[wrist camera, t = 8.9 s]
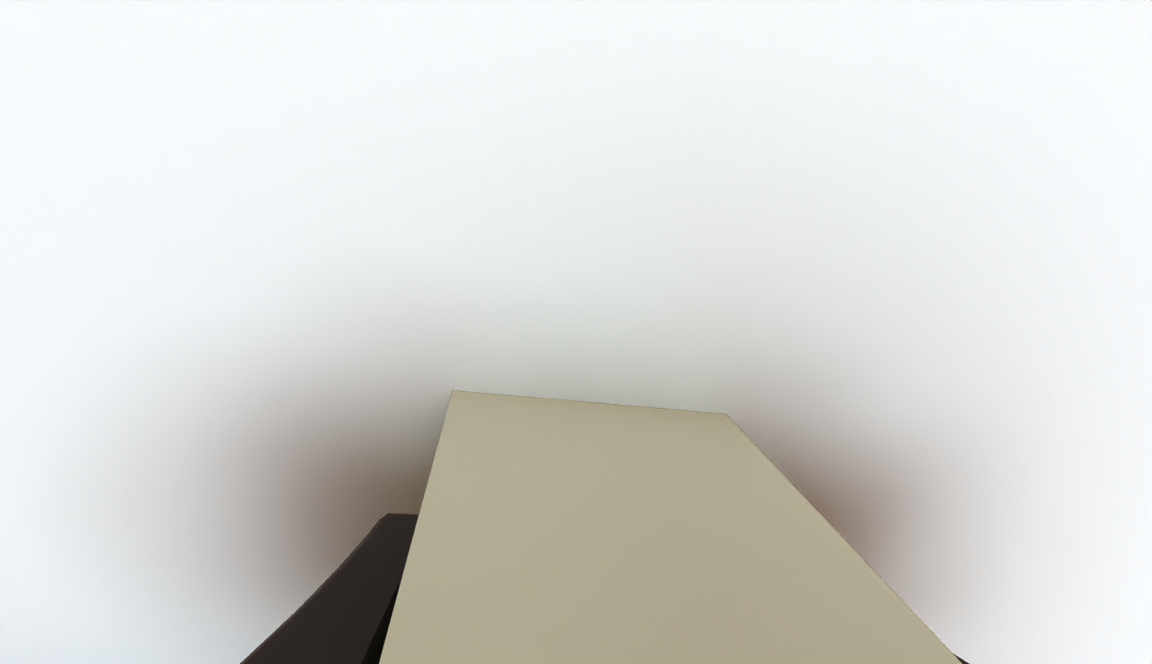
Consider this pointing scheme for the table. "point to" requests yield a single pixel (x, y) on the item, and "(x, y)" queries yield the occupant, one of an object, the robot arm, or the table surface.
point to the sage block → (630, 549)
